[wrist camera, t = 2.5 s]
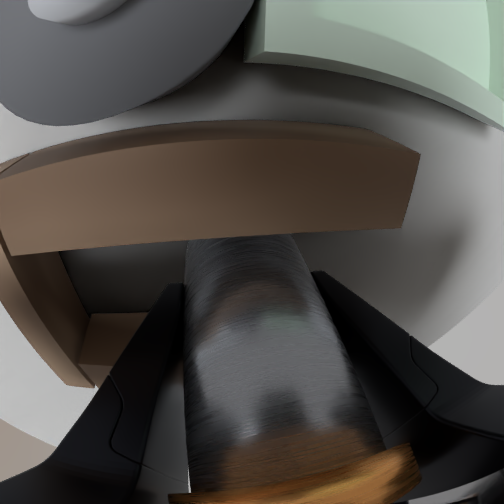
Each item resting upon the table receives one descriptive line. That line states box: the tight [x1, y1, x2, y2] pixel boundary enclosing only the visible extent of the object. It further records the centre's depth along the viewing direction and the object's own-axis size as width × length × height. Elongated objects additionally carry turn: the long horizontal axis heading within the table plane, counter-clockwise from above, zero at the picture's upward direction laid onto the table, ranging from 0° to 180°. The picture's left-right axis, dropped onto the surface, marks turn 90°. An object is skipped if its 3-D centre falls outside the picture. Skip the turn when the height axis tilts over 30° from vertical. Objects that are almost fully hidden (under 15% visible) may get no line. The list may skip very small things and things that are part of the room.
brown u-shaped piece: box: [0, 120, 421, 388], centre depth 8 cm, size 9×12×2 cm
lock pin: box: [168, 233, 422, 504], centre depth 6 cm, size 4×4×8 cm
